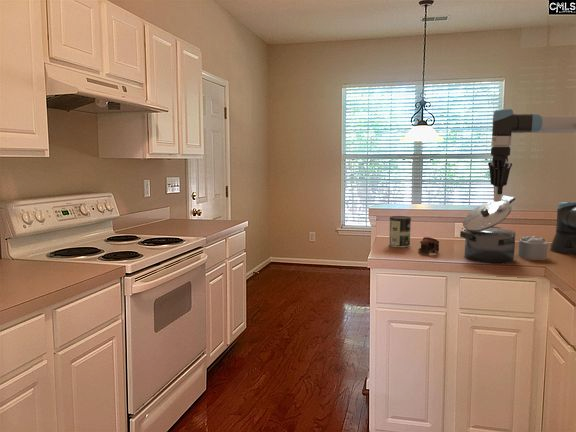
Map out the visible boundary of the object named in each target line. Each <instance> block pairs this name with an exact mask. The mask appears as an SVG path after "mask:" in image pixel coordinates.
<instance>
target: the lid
mask: <svg viewBox="0 0 576 432" xmlns="http://www.w3.org/2000/svg"><path fill="white" fill-rule="evenodd" d="M515 200H516V197H515V196H509V195H502V198H501V202H494V200H491V201H488V202H485V203H483V204H481V205H479V206H477V207H475V208H473V210H471V211H470V212H469V213H468V214H467V215H465V217H464V219H463V220H462V226H463V228H464V230H465V231H466V230H467V231H471V232H476V231H482V230H485V229H488V228H491V227H496V225H498V224H500V223H501V222H503V221H504V220H505V219H506V218H507V217H508V216H509V215H510V213H511V212H512V210H513V209H512V205H511V204H512V203H513V202H514V201H515Z"/></svg>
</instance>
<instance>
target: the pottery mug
mask: <svg viewBox="0 0 576 432" xmlns="http://www.w3.org/2000/svg"><path fill="white" fill-rule="evenodd" d="M419 243H420V247H419V248H418V251H417V253H418V254H423V255H424V254H425V255H430V253H431V254H435V253H438V252H439V251H440V241H439V240H437V239H436V238H432V237H428V236H425V237H423V238H422V240H421V241H419Z"/></svg>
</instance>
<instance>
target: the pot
mask: <svg viewBox="0 0 576 432" xmlns="http://www.w3.org/2000/svg"><path fill="white" fill-rule="evenodd" d="M501 228H502V227H500V228H488V229H485V230H482V231H476V232H471V231H467V230H466V229H465V230H461V231H460V232H459V233H460V234H459V236H460V237H461V238H464V241H465V242H464V253H463V254H464V255H463V256H464V259H466V260H469V261H472V262H476V263H481V264H493V265H494V264H495V265H497V264H502V263H504V264H509V263H512V262H514V260H515V250H516V249H515V247H516V246H515V245H516V231H514V230H511V229H506V228H502V229H501ZM502 265H503V264H502Z"/></svg>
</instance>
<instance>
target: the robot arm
mask: <svg viewBox="0 0 576 432" xmlns="http://www.w3.org/2000/svg"><path fill="white" fill-rule="evenodd" d="M512 134H576V115H541V114H539V113H538V114H536V113H535V114H534V113H522V114H521V113H519V114H515V113H514V111H513V109H511V108H510V109H509V108H500V109H495V110H494V111H493V116H492V132H491V146H492V147H491V148H490V156H491V157H492V159H491V162H487V165H488V168H489V178H490V185H492V186H493V201H494V202H501V198H502V196H503V188H504V186H507V184H508V181H509V176H510V172H511V169H512V166H513V163H512V162H509V156H510V155H511V147H510V146H511V145H512ZM556 211H557V212H556V213H557V214H556V226H555V234H554V237H553V239H552V242H551V243H550V248H549V249H550V251H552V252H556V253H560V254H568V255H576V201H570V202H569V201H567V202H566V201H564V202H563V201H562V202H559V203H558V205H557V210H556Z"/></svg>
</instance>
